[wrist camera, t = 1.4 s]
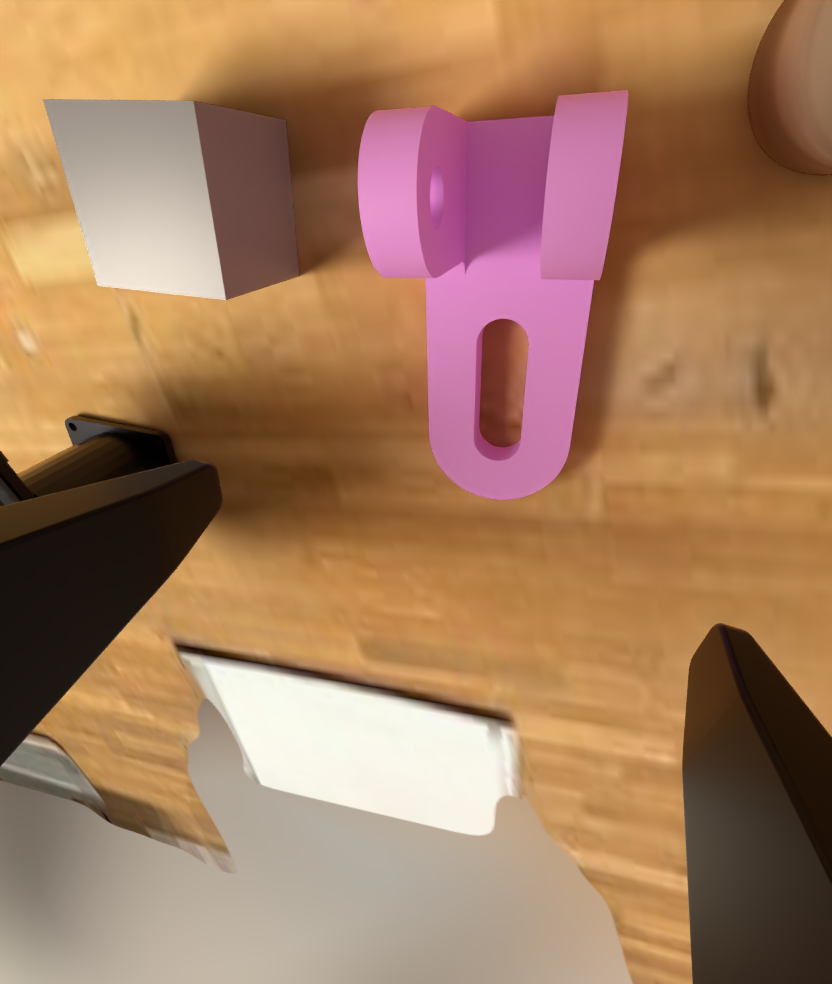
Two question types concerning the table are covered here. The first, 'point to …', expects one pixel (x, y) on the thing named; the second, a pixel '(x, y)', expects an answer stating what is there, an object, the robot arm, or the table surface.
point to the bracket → (496, 262)
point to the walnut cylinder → (795, 87)
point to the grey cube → (179, 194)
